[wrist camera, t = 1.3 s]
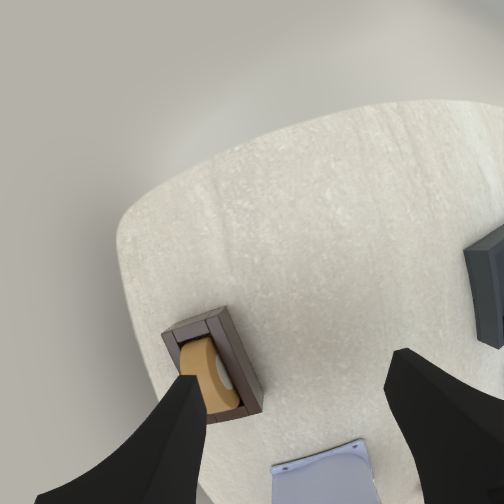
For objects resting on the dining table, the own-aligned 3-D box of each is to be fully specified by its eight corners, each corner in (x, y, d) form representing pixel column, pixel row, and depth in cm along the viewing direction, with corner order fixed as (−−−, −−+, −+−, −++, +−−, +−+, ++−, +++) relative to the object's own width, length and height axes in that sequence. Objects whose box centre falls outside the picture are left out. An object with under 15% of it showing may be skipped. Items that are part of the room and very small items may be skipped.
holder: (214, 406, 21) (206, 425, 18) (174, 323, 21) (160, 334, 18) (264, 393, 20) (262, 412, 17) (225, 305, 21) (217, 314, 18)
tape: (221, 391, 21) (206, 428, 15) (194, 333, 21) (168, 359, 15) (244, 385, 20) (235, 423, 15) (217, 325, 21) (198, 350, 15)
